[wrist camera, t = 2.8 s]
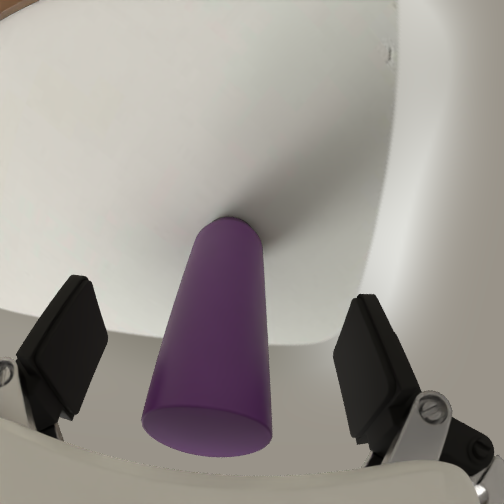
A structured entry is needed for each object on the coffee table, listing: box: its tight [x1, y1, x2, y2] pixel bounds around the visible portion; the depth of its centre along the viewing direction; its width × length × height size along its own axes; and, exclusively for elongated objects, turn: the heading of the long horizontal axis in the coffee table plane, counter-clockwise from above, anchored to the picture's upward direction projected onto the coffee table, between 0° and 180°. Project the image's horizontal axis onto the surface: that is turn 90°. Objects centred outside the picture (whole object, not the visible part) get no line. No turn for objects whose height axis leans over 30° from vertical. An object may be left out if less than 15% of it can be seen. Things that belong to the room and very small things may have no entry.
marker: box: [141, 217, 272, 457], centre depth 10 cm, size 3×3×10 cm
